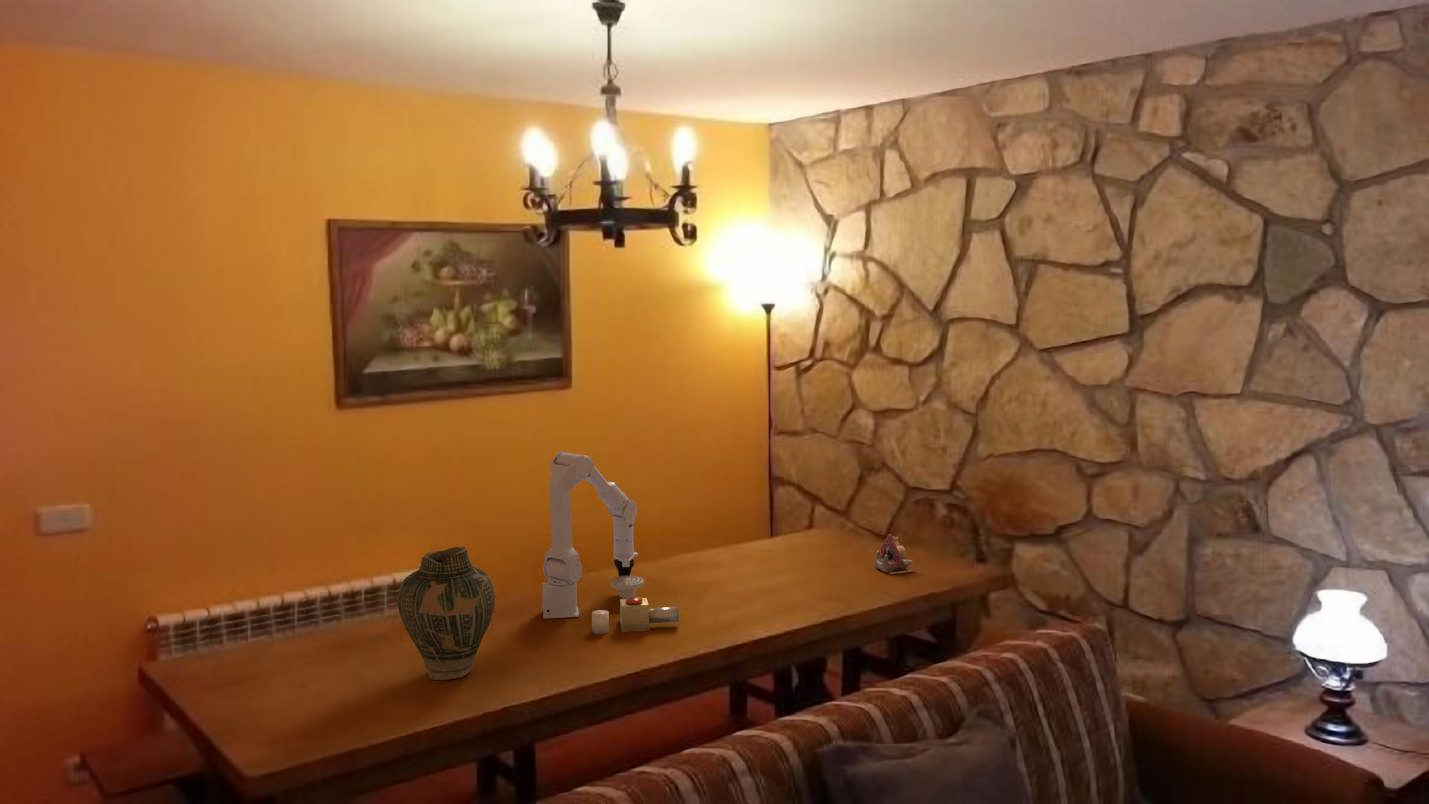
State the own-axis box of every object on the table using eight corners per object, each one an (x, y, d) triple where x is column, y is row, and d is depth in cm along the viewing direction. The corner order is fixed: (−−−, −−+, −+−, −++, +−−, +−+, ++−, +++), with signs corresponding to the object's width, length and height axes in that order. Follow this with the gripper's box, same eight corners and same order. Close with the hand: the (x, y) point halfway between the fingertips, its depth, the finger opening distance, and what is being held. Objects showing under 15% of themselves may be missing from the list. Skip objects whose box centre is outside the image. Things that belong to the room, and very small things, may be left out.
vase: (516, 672, 271) (513, 548, 266) (437, 699, 254) (432, 568, 250) (460, 650, 285) (456, 532, 281) (381, 675, 269) (376, 550, 265)
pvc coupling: (592, 634, 297) (592, 615, 296) (591, 629, 301) (591, 610, 300) (609, 633, 297) (609, 614, 297) (608, 628, 302) (608, 609, 301)
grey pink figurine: (861, 559, 358) (882, 527, 359) (885, 576, 362) (906, 544, 364) (880, 568, 348) (901, 535, 349) (905, 586, 352) (925, 553, 353)
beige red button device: (622, 632, 298) (621, 603, 297) (618, 618, 309) (618, 590, 308) (679, 629, 300) (679, 600, 299) (674, 615, 311) (673, 587, 310)
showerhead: (606, 582, 318) (613, 572, 327) (607, 607, 319) (614, 596, 328) (640, 583, 317) (646, 572, 326) (640, 608, 318) (646, 597, 327)
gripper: (640, 544, 323) (640, 591, 325) (635, 532, 338) (635, 576, 339) (615, 545, 322) (615, 592, 324) (611, 533, 336) (611, 578, 338)
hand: (624, 584), depth 332 cm, fingers closed
